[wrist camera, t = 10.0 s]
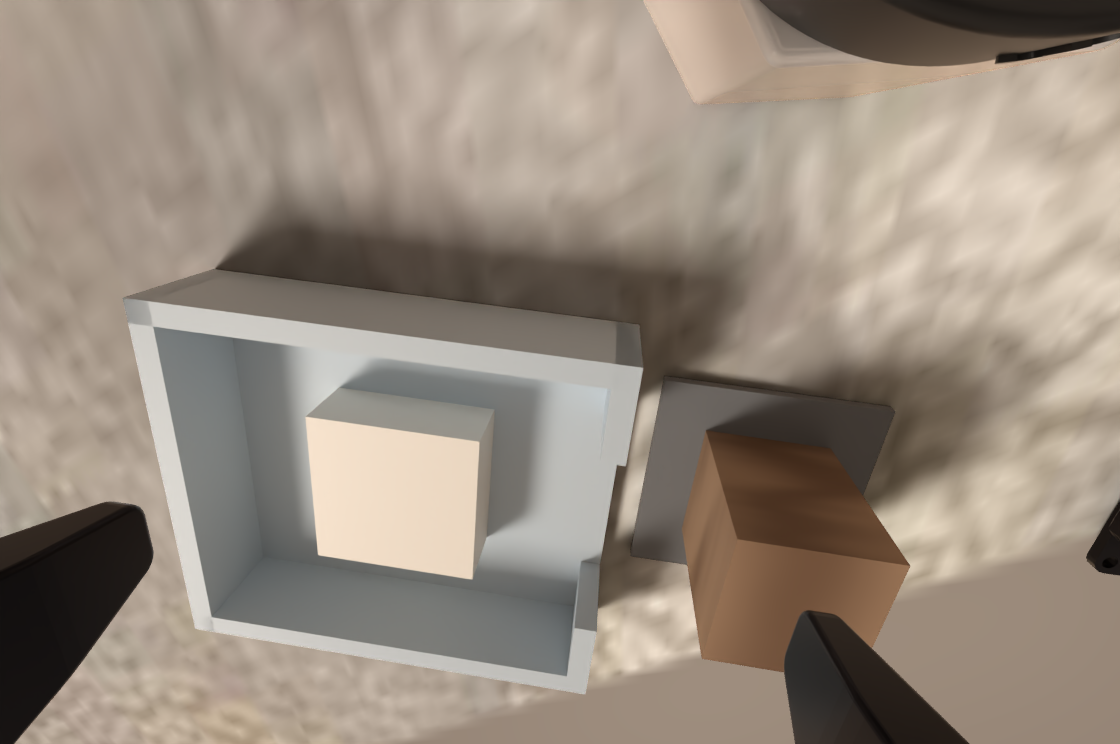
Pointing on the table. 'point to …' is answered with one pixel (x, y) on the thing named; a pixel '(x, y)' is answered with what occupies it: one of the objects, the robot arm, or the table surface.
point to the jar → (865, 42)
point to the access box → (388, 468)
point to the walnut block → (781, 548)
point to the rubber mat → (745, 413)
